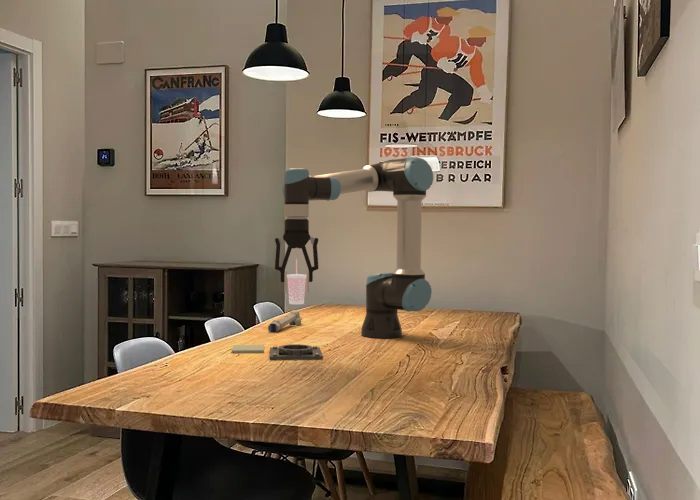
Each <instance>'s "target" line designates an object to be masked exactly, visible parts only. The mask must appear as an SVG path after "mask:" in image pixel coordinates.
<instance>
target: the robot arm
mask: <svg viewBox="0 0 700 500" xmlns="http://www.w3.org/2000/svg"><path fill="white" fill-rule="evenodd" d="M309 171H310V170H309V169H307V168H302V167H298V168H297V167H294V168H287V169H285V171H284V182H283V185H282V187H281V192H282V195H283V198H284V205H283V206H284V207H283V208H284V212H283V214H284V218H286V219H284V233H283V235H282V236H281V237H275V239H274V243H275V246H276V248H275V259H274V261H275V262H274V269H275V270H276V271H279V273H280V282H281V283H284V284H283V285H284V286H283V288H284V289H283V291H284V294H287V293H288V278H287V275H288V272H287V271H285V270H286V267H287V265H288V262H289V258H290V255H291V251H292V249H301V250H302V254H303V256H304V260H305V264H306V266H307V269H308V270H307V271H306V272H305V275H306V279H305V293H306V294H309V293H310V283H312V282H313V279H314V277H313V276H314V275H313V273H314V271H317V270H318V269H319V255H318V245H319V237H313V236H311V235H310V232H309V231H310V229H309V228H310V226H309V225H310V224H309V223H310V220H309V219H308V218H309V217H310V215H309V214H310V213H309V212H310V209H309V208H310V206H309V205H310V201H335V200H338V198H339V196H341V195H343V194H348V193H349V194H351V193H355V192H361V191H366V192H368V193H372V192H391V193H392V196H393V198H394V199H395V200H396V202H397V205H396V206H397V208H396V209H397V211H396V213H397V214H396V216H397V217H396V219H397V220H396V221H397V222H396V268H395V269H394V270H393V271H392V272H384V273H383V272H382V273H371V274H368V276H367V277H366V284H365V290H366V291H365V292H366V293H365V300H366V301H365V304H366V305H365V307H366V308H365V313H366V314H365V316H364V320H363V323H362V327H361V328H360V330H361V331H360V332H361V333H360V334H361V336H362V337H366V338H372V339H394V338H399V337H402V335H403V328H402V326H401V322H400V319H399V315H398V310H401V311H406V312H415V313H417V312H421V311H423V310H424V309H426V306H427V305H428V304H429V303H430V302H431V298H432V285H431V284H430V282H429V281H428V280H426V273H425V272H424V270H422V265H421V264H422V213H423V210H422V206H423V205H422V202H423V200H424V199H425V198H426V197H427V191H428V190H429V189H430V188H431V185H433V182H434V173H433V170H432V167H431V165H430V164H429V162H428V161H426V159H424V158H421V157H403V158H399V159H397V158H395V159H389V160H385V161H381V162H378V163H374V164H373V163H372V164H368V165H364V166H363V168H361V169H354V170H348V171H347V170H346V171H345V170H344V171H339V172H333V173H332V172H331V173H326V174H319V175H318V174H317V175H310V173H309ZM283 241H284V242H285V243H286V244H287V249H286V252H285V255H284V258H283V261H282V264H281V265H280V255H281V245H282V244H283ZM308 242H310V244H311V245H312V254H313V255H312V257H313V266H312V263H311V261H310V257H309V254H308V250H307V247H306V245H307V244H308Z"/></svg>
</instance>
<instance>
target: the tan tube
mask: <svg viewBox="0 0 700 500" xmlns="http://www.w3.org/2000/svg"><path fill="white" fill-rule="evenodd" d="M302 321H303V317H302V316H301V314H300V311H299V310H298V309H293V310H290V313H287V315H284V316H282V317H281V318H278V319H277V320H276V319H275V320H272V322H271V323H269V325H268V326H267V331H269V333H272V332H276V333H277V332H280V331H281V330H283V328H285V327H286V326H288V325H289V326H290V325H297V326H301V325H302Z"/></svg>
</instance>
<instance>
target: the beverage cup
mask: <svg viewBox="0 0 700 500" xmlns="http://www.w3.org/2000/svg"><path fill="white" fill-rule="evenodd" d="M287 292H288V304H289V305H304V304H305V293H306V274H305V273H304V274H303V273H298V258H295V273H292V274H287Z"/></svg>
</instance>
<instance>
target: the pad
mask: <svg viewBox="0 0 700 500" xmlns="http://www.w3.org/2000/svg"><path fill="white" fill-rule="evenodd" d="M264 351H265V344H233V345H232V348H231V354H263V353H264Z"/></svg>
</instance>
